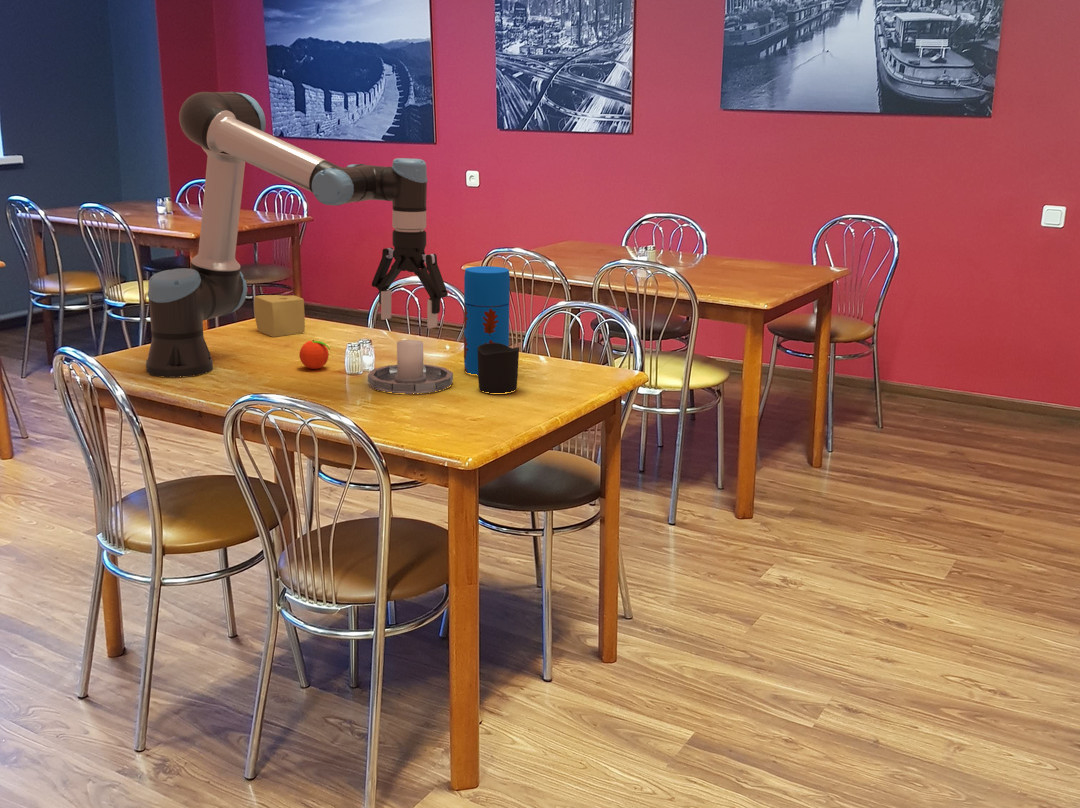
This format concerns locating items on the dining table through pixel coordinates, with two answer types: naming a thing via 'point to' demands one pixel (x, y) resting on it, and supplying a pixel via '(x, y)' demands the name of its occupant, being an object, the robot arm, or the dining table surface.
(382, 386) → the round tray
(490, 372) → the pen holder
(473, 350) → the thermos
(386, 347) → the dining table surface
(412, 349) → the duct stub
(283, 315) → the cheese
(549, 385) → the dining table surface
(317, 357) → the clementine
